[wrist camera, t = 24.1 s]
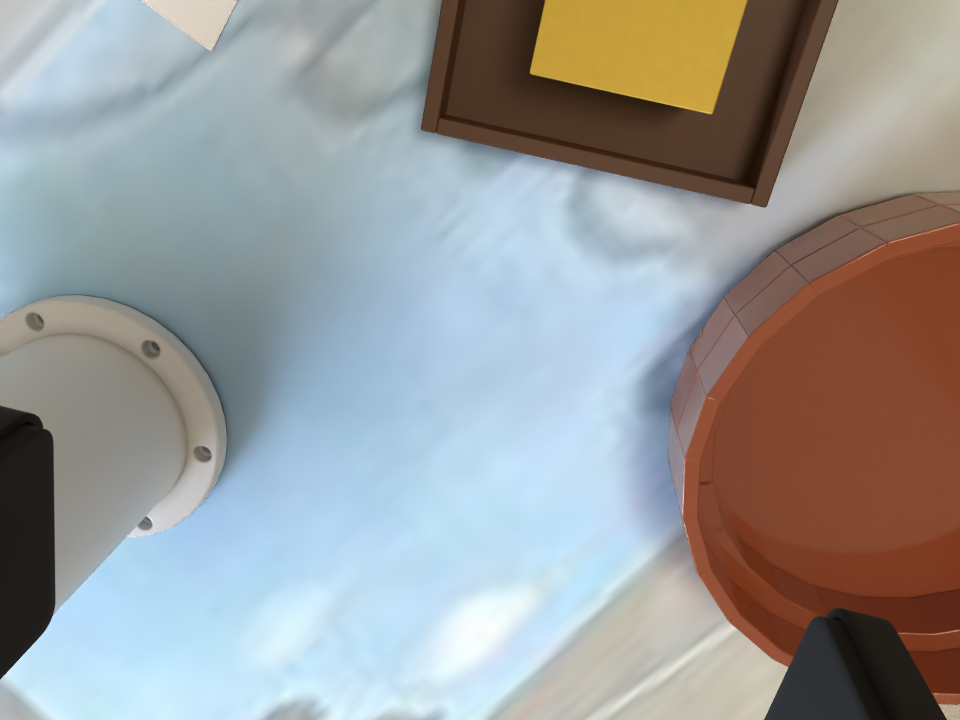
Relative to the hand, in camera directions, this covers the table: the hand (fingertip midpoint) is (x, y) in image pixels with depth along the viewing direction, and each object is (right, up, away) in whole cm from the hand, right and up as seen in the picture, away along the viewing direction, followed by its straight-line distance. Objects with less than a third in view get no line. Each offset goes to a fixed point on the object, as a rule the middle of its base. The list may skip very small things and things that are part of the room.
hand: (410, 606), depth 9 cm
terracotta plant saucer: (+19, 0, +24) cm, 31 cm away
